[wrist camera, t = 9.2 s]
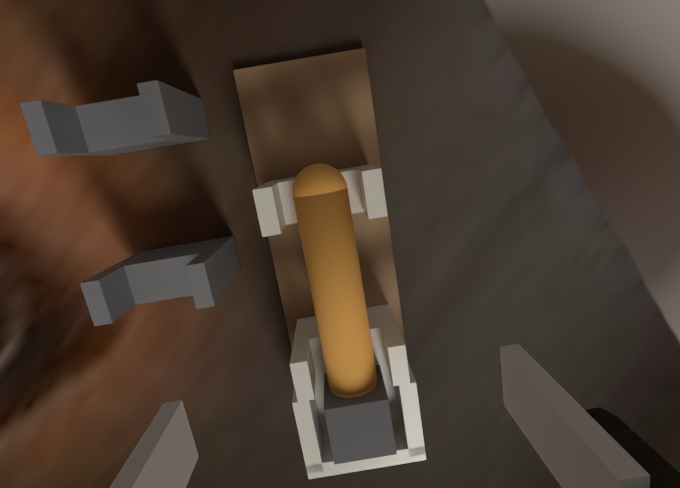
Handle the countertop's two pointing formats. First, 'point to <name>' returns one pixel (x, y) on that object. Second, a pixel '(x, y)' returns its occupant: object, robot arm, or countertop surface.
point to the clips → (307, 349)
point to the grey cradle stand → (123, 137)
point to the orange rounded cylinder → (342, 319)
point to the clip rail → (317, 161)
